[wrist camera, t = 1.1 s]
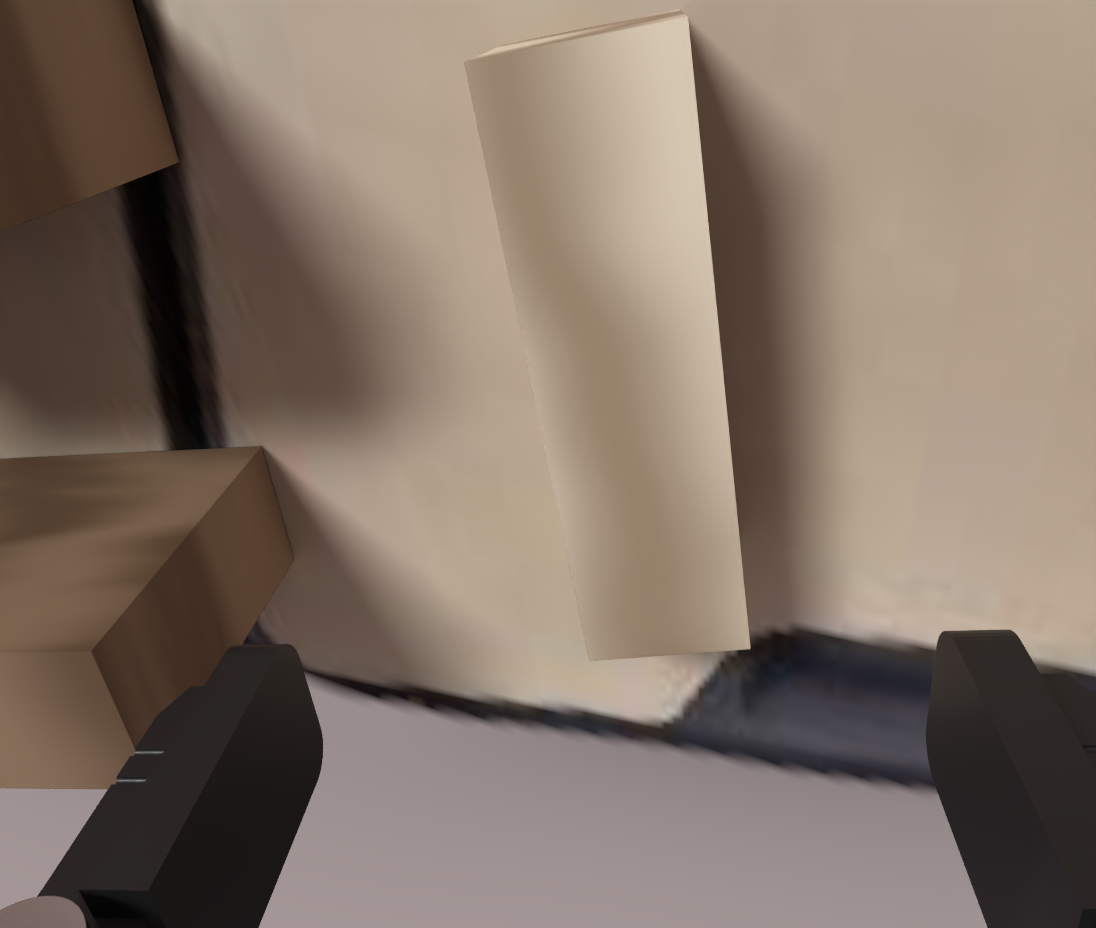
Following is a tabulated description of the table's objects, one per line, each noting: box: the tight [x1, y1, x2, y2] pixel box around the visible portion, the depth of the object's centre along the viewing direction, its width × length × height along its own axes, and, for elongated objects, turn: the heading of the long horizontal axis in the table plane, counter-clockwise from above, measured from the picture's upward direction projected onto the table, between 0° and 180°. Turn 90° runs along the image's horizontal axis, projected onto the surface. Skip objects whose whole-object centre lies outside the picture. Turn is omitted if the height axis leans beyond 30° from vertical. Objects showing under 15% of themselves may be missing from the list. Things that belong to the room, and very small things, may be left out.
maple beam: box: [464, 9, 751, 661], centre depth 21 cm, size 4×14×5 cm, turn 10°
